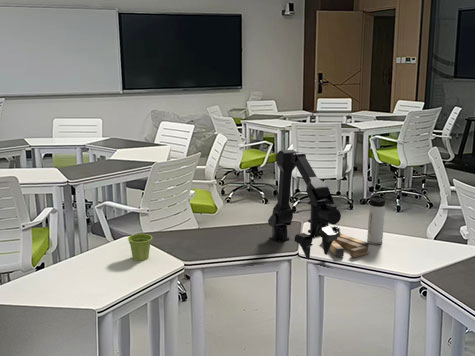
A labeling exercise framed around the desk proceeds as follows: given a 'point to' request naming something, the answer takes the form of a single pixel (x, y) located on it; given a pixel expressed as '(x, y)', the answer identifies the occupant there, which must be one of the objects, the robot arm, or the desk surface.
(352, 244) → the tan rectangular beam
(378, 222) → the travel mug
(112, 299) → the desk surface
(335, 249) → the hinged leg
